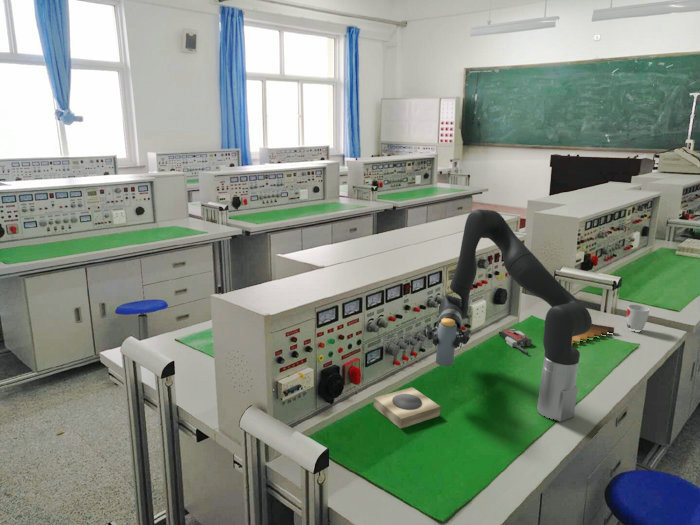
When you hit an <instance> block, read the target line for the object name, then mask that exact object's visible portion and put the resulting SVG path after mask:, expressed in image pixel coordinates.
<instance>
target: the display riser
mask: <svg viewBox="0 0 700 525" xmlns="http://www.w3.org/2000/svg"><path fill="white" fill-rule="evenodd" d="M373 408H374V409H376V410H377V411H378V412H379V413H380V414H381V415H383V416H384V417H385V418H387V419H388V421H390V422H391V423H393V424H394V425H395V426H397V427H398V429H400V430H401V429H405V428H407V427H411V426H413V425H416V424H420V423H422V422H425V421H428V420H432V419H434V418H437V417H440V415H441V408H442V407H441V405H439V404H437V403H436V402H435V401H433V400H432V399H431V398H429V397H427V396H426V395H425V394H423V393H422V392H420V391H419V390H417V389H416V388H414V387H413V386H411V387H408V388H405V389H401V390H397V391H393V392H390V393H386V394H383V395H378V396H376V397H373Z"/></svg>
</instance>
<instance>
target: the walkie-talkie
mask: <svg viewBox="0 0 700 525" xmlns="http://www.w3.org/2000/svg"><path fill="white" fill-rule="evenodd" d="M498 335H499V336H500V337H501V338H503V339H504V340H505V341H506V344H507V345H508V346H510V347H511V348H516V349H517V350H519V351H521V352H523V353H525V354H527V355H528V354H529V351H528V350H527V349H525V348H523V347H530V346H531V345H532V338H530V337H528V336H527V335H526V334H525V333H524V332H522V331H520V330H516V329H515V328H512V327H511V328H503V329H501V331H498ZM521 346H522V347H521Z"/></svg>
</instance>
